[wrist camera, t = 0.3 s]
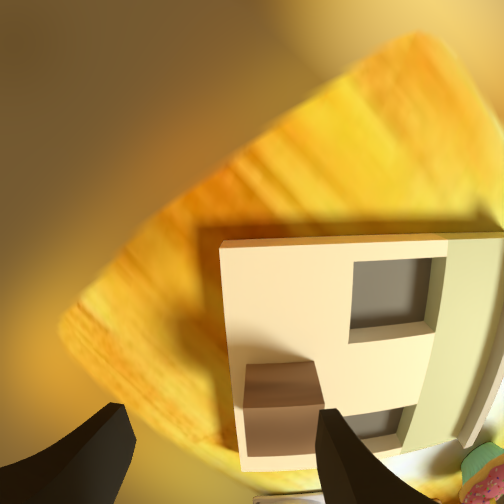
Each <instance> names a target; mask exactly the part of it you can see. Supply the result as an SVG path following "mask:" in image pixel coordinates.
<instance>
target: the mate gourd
mask: <svg viewBox="0 0 504 504" xmlns="http://www.w3.org/2000/svg"><path fill="white" fill-rule="evenodd" d="M496 504H504V494H503V495H502V497H500V498H499V499H498V500H497V501H496Z"/></svg>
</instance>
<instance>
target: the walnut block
mask: <svg viewBox="0 0 504 504" xmlns="http://www.w3.org/2000/svg"><path fill="white" fill-rule="evenodd" d="M324 408H325V402H324V398H323V394H322V390H321V386H320V382H319V378H318V374H317V370H316V366H315V363H314V361H305V362H289V363H266V364H246V372H245V385H244V398H243V417H244V427H245V438H246V448H247V457H272V456H292V455H306V454H316V453H315V440H316V433H317V425H318V417H319V410H321V409H324Z"/></svg>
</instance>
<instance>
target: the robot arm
mask: <svg viewBox="0 0 504 504" xmlns="http://www.w3.org/2000/svg"><path fill="white" fill-rule="evenodd" d="M135 444H136V437H135V435H134V432H133V429H132V426H131V424H130V421H129V418H128V415H127V412H126V409H125V406H124V404H118V403H111V402H110V403H109V404H107V405H106V406H105V407H103V408H102V409H101V410H99V411H98V412H97V413H96V414H94V415H93V416H92V417H91V418H89V419H88V420H87V421H86V422H84V423H83V424H82V425H81V426H79V427H78V428H76V429H75V430H74V431H72V432H71V433H69V434H68V435H67V436H65V437H64V438H62V439H61V440H59V441H58V442H57V443H55V444H53V445H51V446H50V447H48V448H46V449H45V450H43V451H41V452H39V453H37V454H35V455H33V456H31V457H28V458H26V459H23V460H21V461H18V462H16V463H14V464H10V465H7V466H4V467H1V468H0V504H113V503H114V501H115V499H116V496H117V494H118V491H119V489H120V487H121V484H122V482H123V480H124V477H125V475H126V472H127V470H128V468H129V465H130V463H131V460H132V456H133V452H134V448H135ZM315 453H316V463H317V470H318V475H319V479H320V483H321V488H322V492H317V493H307V494H295V495H277V496H255V497H254V498H253V504H440V503H438V502H436V501H434V500H432V499H430V498H428V497H427V496H425V495H423V494H422V493H420V492H418V491H417V490H415V489H414V488H412V487H411V486H409V485H408V484H406V483H405V482H404V481H402V480H401V479H400V478H398V477H397V476H396V475H395V474H394V473H392V472H391V471H390V470H389V469H388V468H387V467H386V466H385V465H383V464H382V463H381V462H380V461H379V460H378V459H377V458H376V457H375V456H374V455H373V453H372V452H371V451H370V450H369V449H368V448H367V447H366V446H365V445H364V443H363V442H362V441H361V440H360V439H359V437H358V436H357V435H356V434H355V432H354V431H353V430H352V429H351V427H350V426H349V425H348V423H347V422H346V420H345V419H344V417H343V416H342V415H341V413H340V411H339V410H338V409H337V408H332V409H321V410H319V417H318V425H317V433H316V440H315Z"/></svg>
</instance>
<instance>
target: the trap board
mask: <svg viewBox="0 0 504 504" xmlns="http://www.w3.org/2000/svg"><path fill="white" fill-rule="evenodd" d="M219 254H220V267H221V280H222V292H223V304H224V315H225V326H226V337H227V347H228V357H229V367H230V377H231V386H232V395H233V404H234V413H235V422H236V430H237V439H238V447H239V455H240V463H241V470H242V472H266V471H289V470H303V469H314V468H317V463H316V454H306V455H292V456H272V457H247V448H246V438H245V427H244V417H243V398H244V385H245V372H246V364H266V363H289V362H305V361H314V363H315V366H316V370H317V374H318V378H319V382H320V386H321V390H322V394H323V398H324V402H325V408H324V409H332V408H337V409H338V410H339V411H340V413H341V415H342V416H343V417H344V419H345V420H346V422H347V423H348V425H349V426H350V427H351V429H352V430H353V431H354V432H355V434H356V435H357V436H358V437H359V439H360V440H361V441H362V442H363V443H364V445H365V446H366V447H367V448H368V449H369V450H370V451H371V452H372V453H373V455H374V456H375V457H376V458H377V459H382V458H386V457H391V456H396V455H400V454H404V453H408V452H412V451H416V450H420V449H424V448H427V447H431V446H434V445H438V444H441V443H444V442H448V441H451V440H454V439H458V441H459V442H460V444H461V445H462V447H463V449H465V448H467V447H470V446H472V445H473V443H474V441H475V439H476V438H477V436H478V434H479V432H480V430H481V428H482V426H483V423H484V421H485V419H486V417H487V415H488V413H489V411H490V408H491V406H492V404H493V401H494V399H495V397H496V394H497V392H498V389H499V387H500V384H501V382H502V379H503V377H504V232H460V233H417V234H381V235H349V236H320V237H293V238H267V239H243V240H223V242H222V244H221V246H220V248H219Z"/></svg>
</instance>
